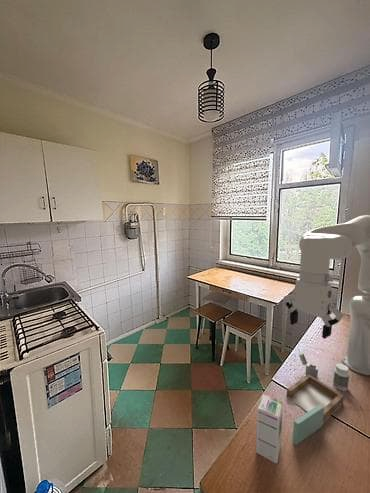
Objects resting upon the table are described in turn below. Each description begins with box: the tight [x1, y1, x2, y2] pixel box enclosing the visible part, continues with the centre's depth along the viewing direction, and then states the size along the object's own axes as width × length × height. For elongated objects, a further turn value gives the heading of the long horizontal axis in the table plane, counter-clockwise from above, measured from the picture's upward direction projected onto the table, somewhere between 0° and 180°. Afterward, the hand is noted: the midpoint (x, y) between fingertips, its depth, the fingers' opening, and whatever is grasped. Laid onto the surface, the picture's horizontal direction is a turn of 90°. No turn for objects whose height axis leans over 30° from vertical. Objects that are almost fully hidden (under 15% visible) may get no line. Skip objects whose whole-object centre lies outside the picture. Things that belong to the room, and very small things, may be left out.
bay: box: [286, 374, 345, 423], centre depth 78 cm, size 14×12×3 cm
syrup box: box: [255, 394, 284, 464], centre depth 61 cm, size 6×6×14 cm
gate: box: [292, 404, 324, 446], centre depth 65 cm, size 12×1×7 cm, turn 117°
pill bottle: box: [332, 363, 350, 392], centre depth 83 cm, size 5×5×8 cm
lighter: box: [298, 352, 319, 380], centre depth 90 cm, size 7×2×8 cm, turn 46°
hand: (308, 329), depth 68 cm, fingers open, 9 cm apart
